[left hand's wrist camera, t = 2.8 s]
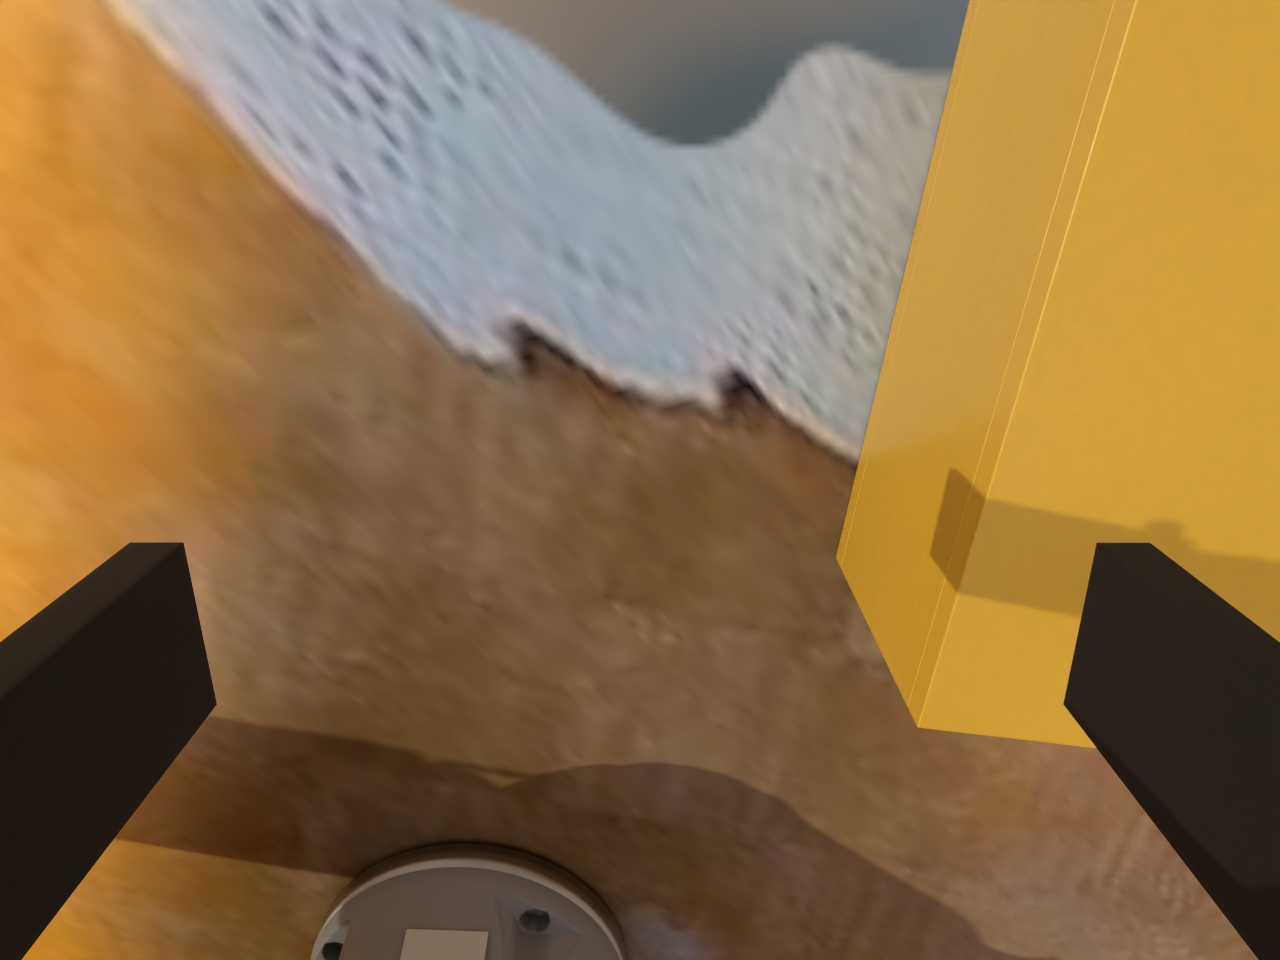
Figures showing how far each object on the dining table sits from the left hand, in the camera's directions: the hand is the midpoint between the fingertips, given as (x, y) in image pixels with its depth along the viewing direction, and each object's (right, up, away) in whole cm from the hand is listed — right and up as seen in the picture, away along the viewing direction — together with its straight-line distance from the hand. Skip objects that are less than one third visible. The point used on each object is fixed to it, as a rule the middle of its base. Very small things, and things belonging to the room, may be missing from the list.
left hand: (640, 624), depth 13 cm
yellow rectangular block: (+15, +8, +19) cm, 26 cm away
